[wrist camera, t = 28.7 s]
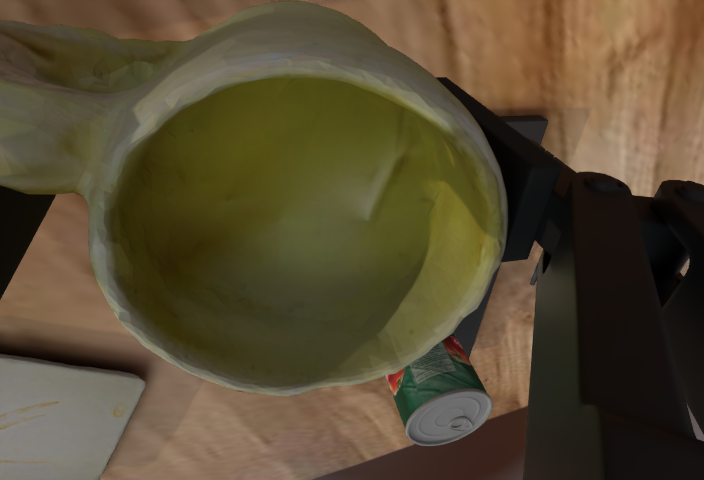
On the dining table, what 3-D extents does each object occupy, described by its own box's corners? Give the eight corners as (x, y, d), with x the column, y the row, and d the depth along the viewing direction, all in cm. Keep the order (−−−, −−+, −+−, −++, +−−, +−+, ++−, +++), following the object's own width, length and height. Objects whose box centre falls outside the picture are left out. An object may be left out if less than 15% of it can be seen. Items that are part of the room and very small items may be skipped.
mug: (528, 108, 16) (622, 347, 9) (333, 243, 21) (289, 458, 14) (252, -244, 11) (-105, -404, 3) (90, 53, 16) (-181, 235, 9)
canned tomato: (355, 332, 45) (388, 432, 37) (415, 286, 43) (463, 379, 35) (400, 360, 50) (438, 454, 41) (456, 319, 48) (508, 409, 39)
